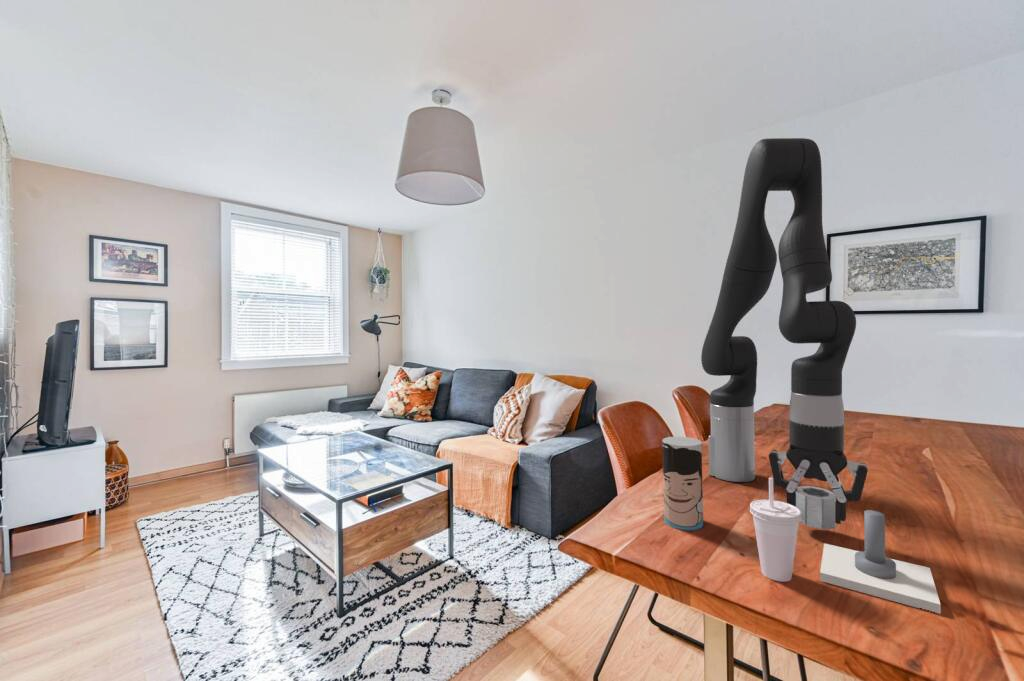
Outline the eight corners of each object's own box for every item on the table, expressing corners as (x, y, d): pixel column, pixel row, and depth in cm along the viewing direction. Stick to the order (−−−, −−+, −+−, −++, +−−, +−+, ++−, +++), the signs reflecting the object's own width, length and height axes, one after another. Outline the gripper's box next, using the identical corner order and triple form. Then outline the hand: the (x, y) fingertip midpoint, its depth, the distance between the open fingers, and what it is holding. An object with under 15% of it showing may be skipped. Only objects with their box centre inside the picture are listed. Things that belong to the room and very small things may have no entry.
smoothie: (741, 563, 65) (739, 472, 65) (781, 560, 66) (779, 469, 65) (770, 589, 59) (768, 487, 58) (814, 585, 59) (813, 484, 59)
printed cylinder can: (656, 518, 81) (654, 439, 81) (683, 511, 84) (681, 435, 84) (683, 533, 75) (681, 447, 75) (711, 525, 78) (710, 442, 77)
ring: (794, 522, 73) (794, 494, 73) (797, 511, 78) (797, 483, 77) (835, 532, 70) (835, 502, 70) (836, 519, 74) (836, 490, 74)
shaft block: (820, 580, 60) (819, 515, 60) (824, 550, 68) (823, 493, 68) (940, 614, 53) (940, 539, 52) (929, 576, 60) (929, 511, 60)
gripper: (763, 418, 74) (763, 514, 75) (871, 429, 65) (870, 538, 66) (770, 410, 80) (770, 499, 81) (870, 420, 71) (869, 520, 72)
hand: (815, 516), depth 74 cm, fingers closed on ring, 5 cm apart
